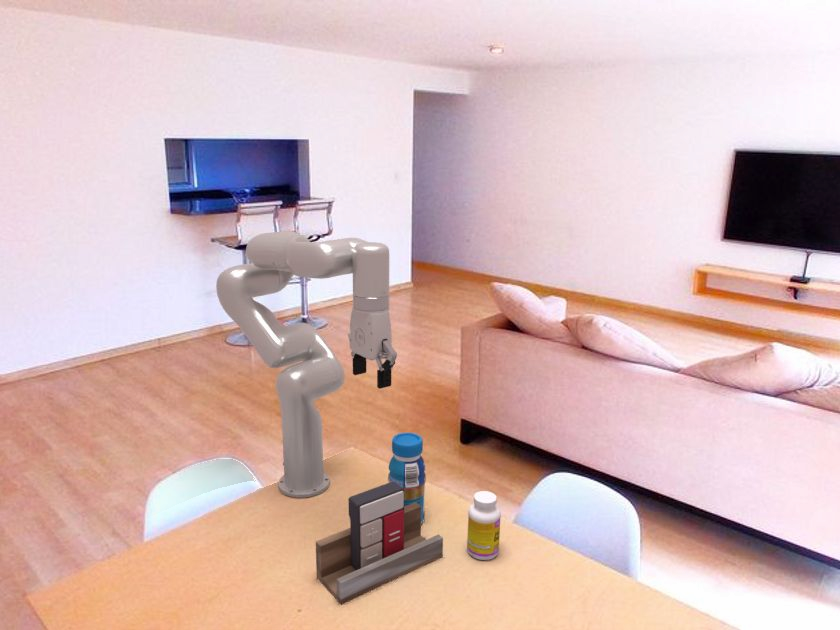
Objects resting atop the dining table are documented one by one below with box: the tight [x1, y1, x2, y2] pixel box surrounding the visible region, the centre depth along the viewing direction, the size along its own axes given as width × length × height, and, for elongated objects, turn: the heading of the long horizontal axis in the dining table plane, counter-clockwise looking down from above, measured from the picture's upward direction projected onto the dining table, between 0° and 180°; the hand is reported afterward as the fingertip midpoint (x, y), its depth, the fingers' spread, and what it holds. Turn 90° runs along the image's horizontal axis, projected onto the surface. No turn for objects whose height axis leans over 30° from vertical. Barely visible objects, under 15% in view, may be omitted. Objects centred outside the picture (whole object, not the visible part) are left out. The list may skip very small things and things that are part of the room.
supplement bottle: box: [466, 490, 501, 561], centre depth 131 cm, size 7×7×13 cm
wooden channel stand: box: [315, 502, 444, 605], centre depth 126 cm, size 10×24×8 cm, turn 127°
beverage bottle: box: [387, 432, 427, 524], centre depth 141 cm, size 8×8×20 cm
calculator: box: [347, 481, 404, 570], centre depth 126 cm, size 11×4×15 cm, turn 127°
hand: (371, 380), depth 136 cm, fingers open, 9 cm apart
